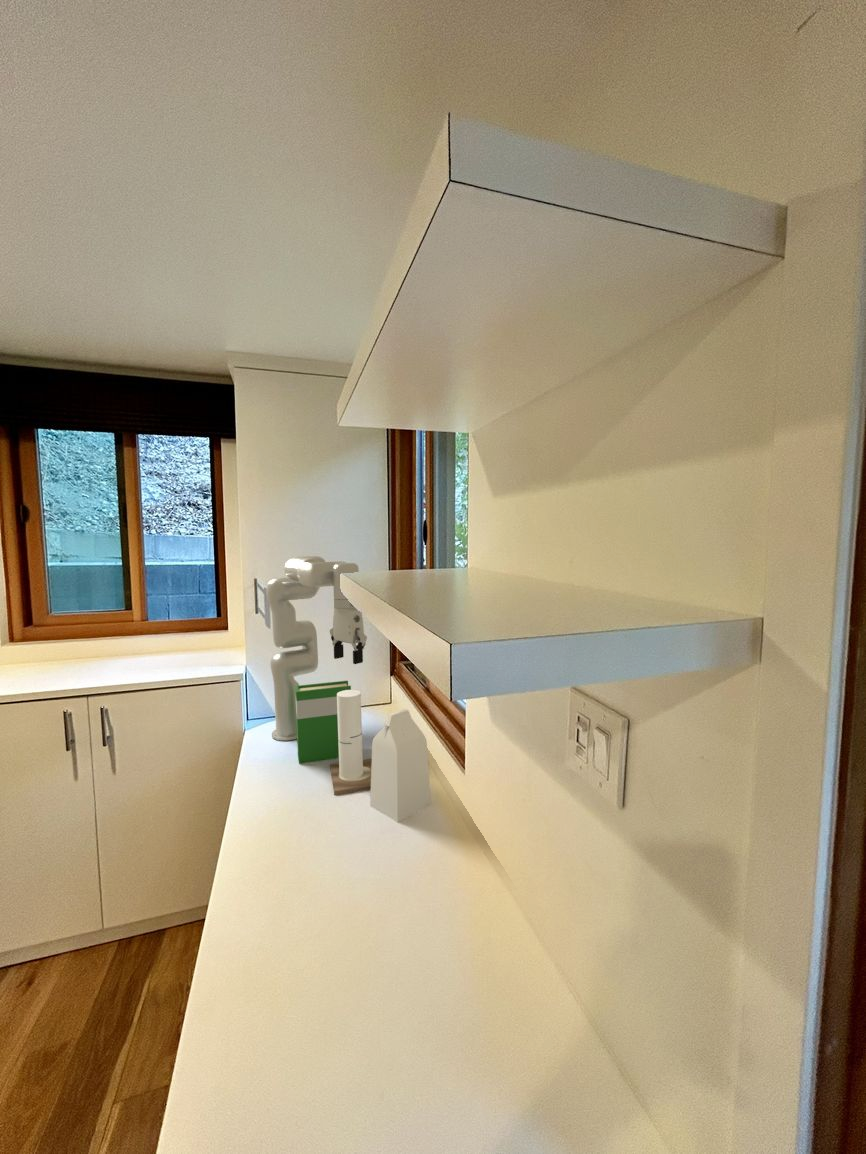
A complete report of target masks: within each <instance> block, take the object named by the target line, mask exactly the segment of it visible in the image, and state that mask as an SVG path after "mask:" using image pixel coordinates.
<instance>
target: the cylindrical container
mask: <svg viewBox="0 0 866 1154" xmlns="http://www.w3.org/2000/svg"><path fill="white" fill-rule="evenodd" d="M337 715H338V744H339V758H338V763H339V774H340V777H342V778H345V779H353V778H357V777H360V776H361V775H362V774H363V760H364V759H363V758H364V757H363V754H364V753H363V725H362V696H361V691H360V690H357V689H351V690H344V691H340V692H338V693H337Z"/></svg>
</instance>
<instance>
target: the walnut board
mask: <svg viewBox="0 0 866 1154" xmlns="http://www.w3.org/2000/svg"><path fill="white" fill-rule="evenodd" d="M371 766H372V758H365V759H363V774H362V775H361V776H360V777H357V778H353V779H345V778H342V777H340V774H339V762H336V763H330V764H329V768H330V775H331V782H332V788H333V794H334V796H336V795H337V796H338V795H343V794H348V793H349V794H350V793H351V794H352V793H357V792H365V791H371Z"/></svg>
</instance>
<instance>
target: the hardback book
mask: <svg viewBox="0 0 866 1154" xmlns="http://www.w3.org/2000/svg"><path fill="white" fill-rule="evenodd" d="M344 690H352V685H349V680H341V681H329V682H320V683H319V682H318V683H311V684H310V683H309V684H302V685H301V684H299V686H295V693H296V720H297V739H296V741H297V746H296V747H297V758H298V759H297V760H298V765H302V764H307V763H314V762H322V761H327V760H328V761H329V760H335V759H339V744H338V715H337V693H338V692H340V691H344Z"/></svg>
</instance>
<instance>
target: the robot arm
mask: <svg viewBox="0 0 866 1154" xmlns="http://www.w3.org/2000/svg"><path fill="white" fill-rule="evenodd" d="M283 570H284V573H285V575H286V576H284V577H283V576H281V577H276V578H273V579H271V580H269V581H268V582H267V585H266V588H265V589H266V590H265V591H266V592H265V594H266V599H267V602H268V605H269V608H270V612H271V622H272V636H273V642H274V643H273V645H275V647H277V648H278V649H290V648H297V647H301V648H300V649H294V650H287V651H286V650H285V651H282V652H281V651H280V652H279V653H276V654H275V655H274V654H273V656H272V658H271V659H270V670H271V675H272V680H273V691H274V692H273V693H274V694H273V695H274V712H275V713H274V716H275V717H274V718H275V729H274V730H273V731H272V732H271V738H272V739H273V740H276V741H287V742H288V741H293V740H297V720H296V693H295V686H299V685H300V683H299V682H298V681H297V680H296V679H295V677H297V676H302V675H306V674H311V673H313V672H314V673H315V671H317V669H318V665H319V651H318V635H317V629H316V626H315V624H314V623H313V622H312V621H310V620H305V619H304V620H297V618H296V617H297V616H296V615H297V613H296V609H295V607H294V605H293V604H292V603H291V602H290V601H295V600H306V599H307V600H308V599H309V600H310V599H312V598H314V597H315V596H316V595H317V594H318V592H319V590H320V588H321V587H323V588H324V587H325V588H326V587H333V616H332V617H333V620H332V628H331V629H329V634H330V636H331V637H330V640H331V641H332V646H333V659H335V660H338V659H342V658H344V657H345V656H344V643H347V644H351V646H352V648H353V650H352V663H353V665H357V664H362V663H363V662H364V651H363V650H364V649H365V646H366V645H367V644H366V642H367V639H368V636H367V635H366V633H365V628H364V620H363V619H364V618H363V614H362V611H361V612H360V611H358V610H357V609H356V608H355V607H354V606H353V605H352V604H351V603H350V602H349V601H348V599H347V598H346V597H345V596H344V595H343V593H342V592H341V589H340V574H341V573H354V572H359V573H360V570H359V565H358V564H356V563H353V562H346V561H326V560H325V559H324V558H323V557H322V556H318V555H317V556H316V555H311V556H310V555H309V556H308V555H307V556H294V557H292V558H290V559H288V560H287V561H286V562H285V564H284V569H283Z"/></svg>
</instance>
